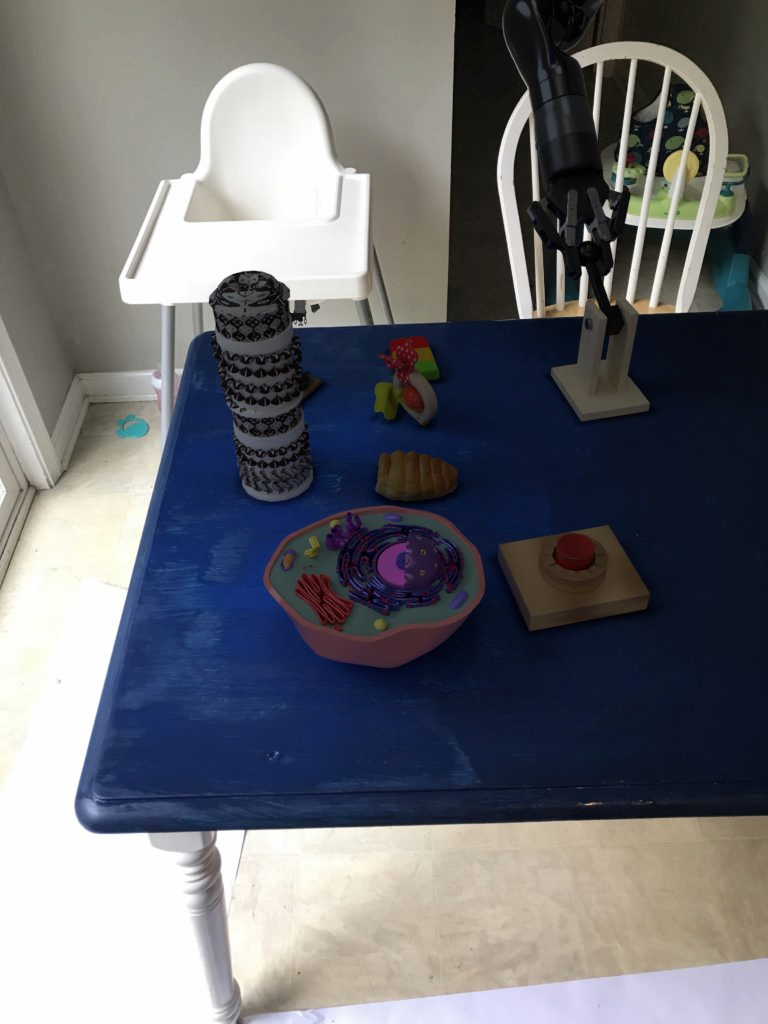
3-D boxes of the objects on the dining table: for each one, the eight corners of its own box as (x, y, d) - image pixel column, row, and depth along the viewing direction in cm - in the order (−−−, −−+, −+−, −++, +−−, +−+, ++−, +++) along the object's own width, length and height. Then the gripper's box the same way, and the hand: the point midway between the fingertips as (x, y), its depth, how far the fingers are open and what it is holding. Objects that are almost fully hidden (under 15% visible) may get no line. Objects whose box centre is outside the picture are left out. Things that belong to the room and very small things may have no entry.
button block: (605, 539, 88) (611, 512, 86) (646, 609, 81) (654, 581, 78) (497, 559, 87) (499, 531, 84) (529, 631, 80) (532, 603, 77)
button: (583, 542, 83) (586, 530, 82) (598, 568, 80) (600, 555, 79) (549, 549, 83) (551, 536, 81) (562, 574, 80) (564, 561, 79)
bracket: (550, 375, 112) (560, 291, 104) (613, 365, 113) (627, 282, 105) (581, 421, 104) (594, 335, 96) (648, 411, 105) (667, 324, 97)
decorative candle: (222, 490, 97) (179, 293, 80) (267, 446, 103) (235, 254, 86) (288, 513, 93) (258, 313, 76) (330, 466, 99) (311, 270, 82)
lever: (568, 253, 107) (575, 236, 104) (591, 250, 107) (599, 233, 104) (596, 339, 102) (604, 324, 99) (621, 335, 103) (629, 321, 100)
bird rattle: (440, 425, 108) (392, 379, 110) (469, 371, 99) (416, 321, 101) (407, 448, 105) (359, 399, 107) (434, 394, 96) (381, 342, 97)
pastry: (457, 467, 98) (458, 442, 96) (457, 506, 93) (458, 480, 91) (378, 466, 99) (377, 441, 96) (374, 505, 94) (373, 479, 91)
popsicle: (426, 345, 119) (426, 333, 118) (448, 405, 108) (448, 392, 107) (388, 349, 118) (387, 338, 117) (406, 410, 107) (406, 398, 106)
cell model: (293, 559, 88) (280, 477, 80) (483, 569, 86) (488, 486, 78) (258, 691, 76) (239, 609, 68) (479, 707, 73) (484, 625, 66)
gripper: (522, 135, 101) (547, 273, 100) (631, 123, 103) (656, 258, 102) (505, 164, 108) (529, 293, 108) (607, 152, 110) (631, 279, 109)
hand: (591, 275), depth 105 cm, fingers closed on lever, 3 cm apart
